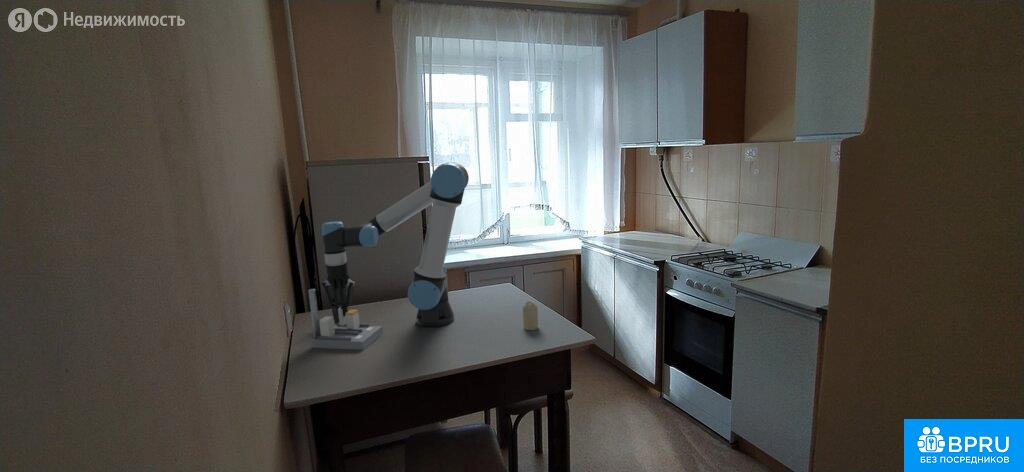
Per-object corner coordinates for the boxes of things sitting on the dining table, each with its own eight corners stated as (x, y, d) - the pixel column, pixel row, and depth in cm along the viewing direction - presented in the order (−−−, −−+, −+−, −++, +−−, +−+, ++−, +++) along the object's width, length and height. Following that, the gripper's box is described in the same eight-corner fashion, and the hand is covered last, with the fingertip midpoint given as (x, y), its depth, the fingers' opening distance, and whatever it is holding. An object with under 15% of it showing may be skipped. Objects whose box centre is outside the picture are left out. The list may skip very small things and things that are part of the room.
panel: (382, 333, 182) (381, 323, 181) (363, 349, 168) (362, 339, 167) (335, 332, 186) (334, 322, 185) (312, 347, 172) (311, 337, 171)
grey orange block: (359, 326, 182) (358, 309, 181) (354, 330, 178) (352, 313, 177) (352, 326, 182) (350, 309, 181) (347, 330, 178) (345, 313, 177)
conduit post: (322, 336, 174) (316, 288, 170) (318, 339, 171) (312, 290, 168) (316, 336, 174) (310, 288, 171) (312, 338, 172) (306, 290, 169)
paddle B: (335, 334, 175) (333, 316, 174) (328, 338, 171) (326, 320, 170) (327, 334, 176) (325, 316, 175) (321, 338, 172) (319, 320, 171)
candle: (541, 327, 182) (540, 302, 180) (531, 331, 178) (530, 305, 176) (530, 324, 185) (529, 299, 184) (520, 328, 181) (519, 303, 180)
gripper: (357, 261, 179) (364, 321, 183) (326, 261, 181) (333, 320, 186) (347, 265, 172) (354, 328, 176) (314, 265, 174) (322, 327, 178)
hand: (343, 324), depth 181 cm, fingers closed
